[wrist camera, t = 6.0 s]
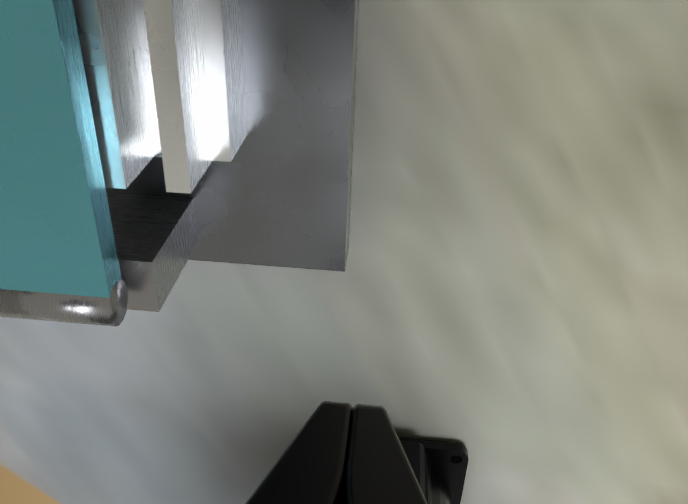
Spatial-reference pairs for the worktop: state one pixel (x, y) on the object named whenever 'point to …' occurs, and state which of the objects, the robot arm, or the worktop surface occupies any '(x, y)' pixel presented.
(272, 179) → the heat sink base
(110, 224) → the bar
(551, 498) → the worktop surface
